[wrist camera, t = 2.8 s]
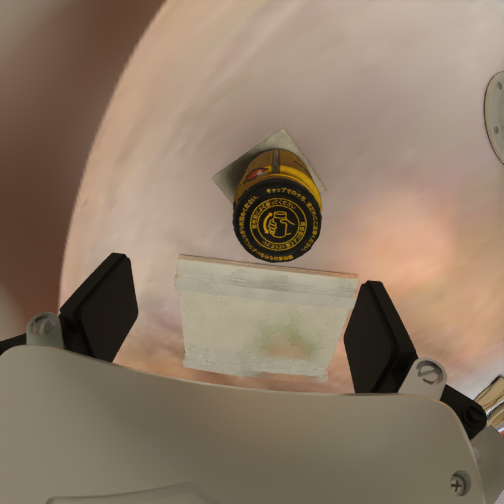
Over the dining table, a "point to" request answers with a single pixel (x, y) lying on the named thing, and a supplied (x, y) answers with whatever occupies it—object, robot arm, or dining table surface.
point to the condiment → (274, 199)
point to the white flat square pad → (262, 318)
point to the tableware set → (493, 402)
